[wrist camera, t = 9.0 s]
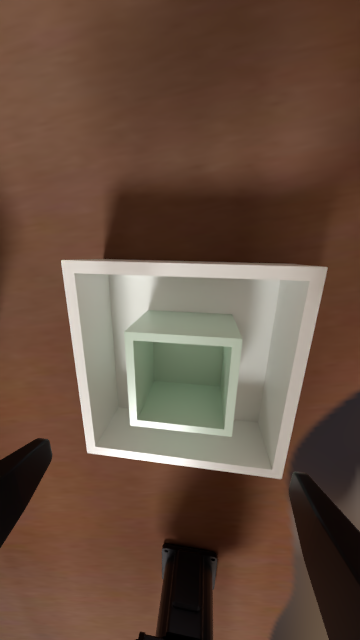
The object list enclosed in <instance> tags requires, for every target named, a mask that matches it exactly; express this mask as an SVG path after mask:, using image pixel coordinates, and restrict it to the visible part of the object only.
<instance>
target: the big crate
mask: <svg viewBox="0 0 360 640" xmlns="http://www.w3.org/2000/svg"><path fill="white" fill-rule="evenodd" d="M61 264H62V271H63V278H64V286H65V293H66V300H67V308H68V315H69V322H70V330H71V337H72V344H73V351H74V359H75V366H76V373H77V381H78V388H79V395H80V402H81V410H82V417H83V424H84V432H85V439H86V446H87V453H92V454H100V455H107V456H114V457H122V458H129V459H136V460H144V461H151V462H158V463H166V464H173V465H181V466H188V467H195V468H203V469H210V470H217V471H225V472H232V473H240V474H247V475H254V476H262V477H269V478H276V479H282V475H283V470H284V466H285V461H286V457H287V452H288V447H289V443H290V438H291V434H292V429H293V424H294V420H295V415H296V411H297V406H298V402H299V397H300V392H301V388H302V383H303V379H304V374H305V369H306V365H307V360H308V356H309V351H310V347H311V342H312V337H313V333H314V328H315V324H316V319H317V314H318V310H319V305H320V301H321V296H322V292H323V287H324V282H325V278H326V273H327V269H328V267H321V266H310V265H299V264H282V263H242V262H203V261H163V260H123V259H84V260H61ZM148 310H155V311H176V312H197V313H218V314H232V315H233V317H234V320H235V322H236V324H237V327H238V329H239V331H240V334H241V336H242V339H243V340H242V349H241V358H240V367H239V376H238V386H237V395H236V404H235V413H234V422H233V431H232V437H227V436H218V435H209V434H201V433H192V432H183V431H174V430H165V429H156V428H148V427H139V426H130V416H129V401H128V385H127V370H126V354H125V339H124V331H125V330H127V329H128V328H129V327H130V326H131V325H132V324H133V323H134V322H135V321H137V320H138V319H139V318H140V317H141V316H142V315H143V314H144V313H145V312H146V311H148Z"/></svg>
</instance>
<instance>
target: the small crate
mask: <svg viewBox="0 0 360 640" xmlns="http://www.w3.org/2000/svg"><path fill="white" fill-rule="evenodd" d="M124 339H125V354H126V370H127V385H128V401H129V416H130V426H139V427H148V428H156V429H165V430H174V431H183V432H192V433H201V434H209V435H218V436H227V437H232V431H233V422H234V413H235V404H236V395H237V386H238V376H239V367H240V358H241V349H242V340H243V339H242V336H241V334H240V331H239V329H238V327H237V324H236V322H235V320H234V317H233V315H232V314H218V313H197V312H176V311H155V310H148V311H146V312H145V313H144V314H143V315H142V316H141V317H140V318H139V319H138V320H137V321H135V322H134V323H133V324H132V325H131V326H130V327H129V328H128V329H127V330H125V331H124Z"/></svg>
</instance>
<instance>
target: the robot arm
mask: <svg viewBox="0 0 360 640" xmlns="http://www.w3.org/2000/svg"><path fill="white" fill-rule="evenodd" d="M51 459H52V451H51V446H50V442H49V440H48V439H43V438H37V439H35V440H33V441H32V442H30V443H28V444H27V445H25V446H23V447H22V448H20V449H18V450H17V451H15V452H13V453H12V454H10V455H8V456H7V457H5V458H3V459H2V460H0V548H1V546H2V545H3V543H4V541H5V540H6V538H7V537H8V535H9V534H10V532H11V531H12V529H13V527H14V526H15V524H16V523H17V521H18V520H19V518H20V516H21V515H22V513H23V511H24V510H25V508H26V506H27V505H28V503H29V501H30V499H31V497H32V496H33V494H34V492H35V490H36V488H37V486H38V484H39V483H40V481H41V479H42V477H43V475H44V473H45V471H46V470H47V468H48V466H49V464H50V462H51ZM289 496H290V501H291V505H292V510H293V514H294V518H295V523H296V527H297V532H298V536H299V540H300V545H301V549H302V553H303V557H304V561H305V564H306V567H307V571H308V574H309V577H310V580H311V584H312V587H313V590H314V593H315V596H316V600H317V602H318V605H319V609H320V612H321V615H322V619H323V622H324V625H325V628H326V631H327V635H328V638H329V640H360V531H359V530H358V529H357V528H356V527H355V526H354V525H353V524H352V523H351V521H350V520H349V519H348V518H347V517H346V516H345V515H344V514H343V513H342V512H341V510H340V509H339V508H338V507H337V506H336V505H335V504H334V503H333V502H332V500H331V499H330V498H329V497H328V496H327V495H326V494H325V493H324V492H323V491H322V490H321V488H320V487H319V486H318V485H317V484H316V483H315V482H314V481H313V479H312V478H311V477H310V476H309V475H308V474H306V473H302V472H294V473H293V475H292V479H291V483H290V487H289ZM216 567H217V554H216V553H214V552H208V551H203V550H197V549H192V548H186V547H180V546H175V545H169V544H164V545H163V548H162V579H163V586H162V593H161V601H160V608H159V615H158V623H157V630H156V637H155V636H151V635H146V634H145V633H144V632H140V633H139V638H138V639H136V640H213V592H212V590H213V589H214V585H215V576H216Z"/></svg>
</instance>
